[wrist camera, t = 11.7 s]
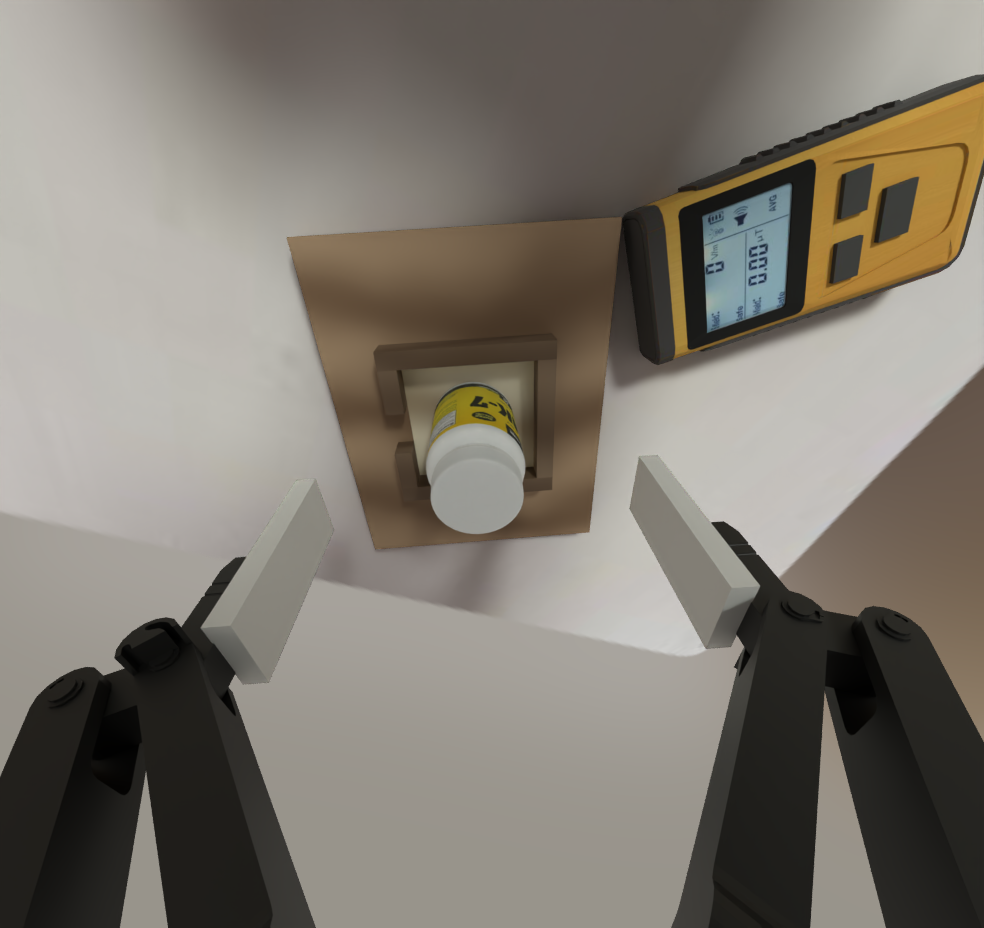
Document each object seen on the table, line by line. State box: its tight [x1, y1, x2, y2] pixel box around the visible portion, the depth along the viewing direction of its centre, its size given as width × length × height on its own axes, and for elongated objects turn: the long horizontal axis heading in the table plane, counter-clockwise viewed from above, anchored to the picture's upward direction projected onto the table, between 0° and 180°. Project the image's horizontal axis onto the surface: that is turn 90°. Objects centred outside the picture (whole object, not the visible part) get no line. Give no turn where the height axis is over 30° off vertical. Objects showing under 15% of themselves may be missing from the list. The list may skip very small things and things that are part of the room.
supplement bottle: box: [426, 382, 525, 534], centre depth 20 cm, size 5×5×8 cm
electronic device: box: [622, 74, 984, 365], centre depth 20 cm, size 8×16×3 cm, turn 109°
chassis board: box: [287, 217, 622, 549], centre depth 24 cm, size 20×16×3 cm
